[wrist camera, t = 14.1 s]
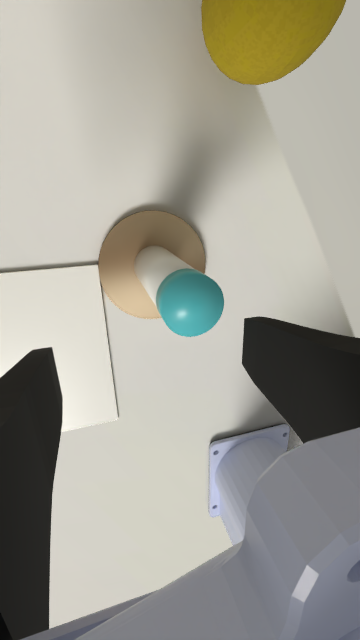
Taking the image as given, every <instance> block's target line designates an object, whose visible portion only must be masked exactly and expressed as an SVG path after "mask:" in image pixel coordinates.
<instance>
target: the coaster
mask: <svg viewBox="0 0 360 640" xmlns="http://www.w3.org/2000/svg"><path fill="white" fill-rule="evenodd" d="M148 246H161V247H163V248H165V249H166V250H168V251H169V252H171V253H172V254H174V255H175V256H176V257H178V258H179V259H181V260H182V261H184V262H185V263H187V264H188V265H190V266H191V267H192V268H194V269H195V270H198V271H200V272H202V273H203V274H204V273H205V254H204V249H203V246H202V243H201V241H200V239H199V237H198V235H197V234H196V232H195V231H194V230H193V229H192V227H191V226H190V225H188V224H187V223H186V222H185V221H183V220H182V219H180V218H179V217H177V216H175V215H172V214H169V213H166V212H161V211H143V212H139V213H135V214H133V215H130V216H128V217H127V218H125V219H123V220H122V221H120V222H119V223H118V224H117V225H116V226H115V227H114V228H113V229H112V230H111V231H110V232H109V234H108V235H107V237H106V238H105V240H104V242H103V244H102V247H101V250H100V254H99V262H98V268H99V276H100V281H101V284H102V287H103V289H104V291H105V293H106V294H107V296H108V297H109V299H110V300H111V301H112V302H113V303H114V304H115V305H116V306H117V307H118V308H119V309H121V310H122V311H124V312H125V313H127V314H130V315H132V316H135V317H138V318H144V319H157V318H162V317H161V315H160V314H159V312H158V309H157V307H156V305H155V304H154V302H153V301H152V299H151V298H150V296H149V295H148V293H147V291H146V290H145V288H144V287H143V285H142V284H141V282H140V281H139V279H138V277H137V276H136V274H135V271H134V262H135V258H136V256H137V255H138V253H139V252H140V251H141V250H142V249H144V248H146V247H148Z"/></svg>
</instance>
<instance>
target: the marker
mask: <svg viewBox="0 0 360 640" xmlns="http://www.w3.org/2000/svg"><path fill="white" fill-rule="evenodd" d="M134 271H135V274H136V276H137V277H138V279H139V281H140V282H141V284H142V285H143V287H144V288H145V290H146V291H147V293H148V295H149V296H150V298H151V299H152V301H153V302H154V304H155V305H156V307H157V309H158V312H159V314H160V315H161V317H162V318H163V320H164V322H165V323H166V325H167V326H168V327H169V328H170V329H171V330H172V331H173V332H175V333H176V334H178V335H181V336H187V337H191V336H198V335H201V334H203V333H205V332H207V331H208V330H210V329H211V328H212V327H213V326H214V325H215V324H216V323H217V322H218V320H219V318H220V316H221V314H222V311H223V307H224V298H223V293H222V291H221V289H220V287H219V286H218V284H217V283H216V282H215V281H213V280H212V279H211V278H209V277H208V276H206V275H205V274H203V273H202V272H200V271H198V270H195V269H194V268H192V267H191V266H190V265H188V264H187V263H185V262H184V261H182V260H181V259H179V258H178V257H176V256H175V255H174V254H172V253H171V252H169V251H168V250H166V249H165V248H163V247H161V246H148V247H146V248H144V249H142V250H141V251H140V252H139V253H138V255H137V256H136V258H135V262H134Z"/></svg>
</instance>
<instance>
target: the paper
mask: <svg viewBox="0 0 360 640" xmlns="http://www.w3.org/2000/svg"><path fill="white" fill-rule="evenodd" d="M48 347H52V349H53V354H54V359H55V364H56V368H57V373H58V378H59V382H60V387H61V392H62V397H63V416H62V428H61V432H64V431H69V430H73V429H78V428H83V427H87V426H92V425H97V424H102V423H106V422H111V421H116V420H118V414H117V406H116V399H115V391H114V384H113V376H112V369H111V361H110V353H109V346H108V338H107V331H106V323H105V315H104V308H103V300H102V293H101V285H100V277H99V270H98V264H95V265H84V266H73V267H61V268H50V269H38V270H27V271H15V272H4V273H0V378H1V377H2V376H3V375H4V374H5V373H6V372H7V371H9V370H10V369H11V368H12V367H13V366H14V365H15V364H16V363H18V362H19V361H20V360H21V359H22V358H23V357H24V356H25V355H27V354H28V353H29V352H30V351H32V350H34V349H41V348H48Z"/></svg>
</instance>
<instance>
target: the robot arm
mask: <svg viewBox="0 0 360 640" xmlns="http://www.w3.org/2000/svg"><path fill="white" fill-rule="evenodd" d="M242 364H243V366H244V368H245V369H246V371H247V373H248V375H249V376H250V378H251V379H252V381H253V382H254V383H255V385H256V386H257V387H258V388H259V389H260V391H261V392H262V393H263V394H264V395H265V397H266V398H267V399H268V400H269V401H270V402H271V403H272V405H273V406H274V407H275V408H276V409H277V410H278V411H279V413H280V414H281V415H282V416H283V417H284V418H285V420H286V421H287V422H288V423H289V424H290V426H291V427H292V428H293V429H294V431H295V432H296V433H297V435H298V436H299V438H300V439H301V441H302V442H303V443H304V444H302V445H300V446H298V447H296V448H294V449H292V450H290V451H288V452H287V446H288V439H289V432H290V427H289V426H288V425H287V424H282V425H278V426H274V427H270V428H266V429H262V430H258V431H254V432H250V433H246V434H242V435H238V436H234V437H230V438H226V439H222V440H218V441H214V442H212V443H211V444H210V447H209V515H210V516H211V517H216V516H219V515H220V516H221V519H222V521H223V523H224V526H225V528H226V530H227V533H228V535H229V537H230V540H231V542H232V544H233V546H232V547H231V548H229V549H227V550H225V551H224V552H222V553H220V554H219V555H217V556H215V557H214V558H212V559H210V560H209V561H207V562H205V563H203V564H202V565H200V566H198V567H197V568H195V569H193V570H192V571H190V572H188V573H187V574H185V575H183V576H181V577H180V578H178V579H176V580H175V581H173V582H171V583H170V584H168V585H166V586H165V587H163V588H161V589H159V590H156V591H154V592H151V593H148V594H145V595H143V596H140V597H137V598H134V599H131V600H129V601H126V602H123V603H120V604H118V605H115V606H112V607H109V608H106V609H104V610H101V611H98V612H95V613H93V614H90V615H87V616H84V617H81V618H79V619H76V620H73V621H70V622H68V623H65V624H62V625H59V626H56V627H54V628H51V629H49V576H50V535H51V508H52V491H53V481H54V474H55V468H56V461H57V455H58V448H59V442H60V435H61V428H62V416H63V397H62V392H61V387H60V382H59V378H58V373H57V368H56V364H55V359H54V354H53V349H52V347H48V348H41V349H34V350H32V351H30V352H29V353H28V354H27V355H25V356H24V357H23V358H22V359H21V360H20V361H19V362H18V363H16V364H15V365H14V366H13V367H12V368H11V369H10V370H9V371H7V372H6V373H5V374H4V375H3V376H2V377H1V378H0V640H360V338H355V337H348V336H343V335H337V334H333V333H328V332H324V331H319V330H315V329H311V328H307V327H303V326H299V325H296V324H292V323H288V322H284V321H280V320H276V319H272V318H267V317H252V318H245V319H244V337H243V354H242ZM214 451H215V452H214Z"/></svg>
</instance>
